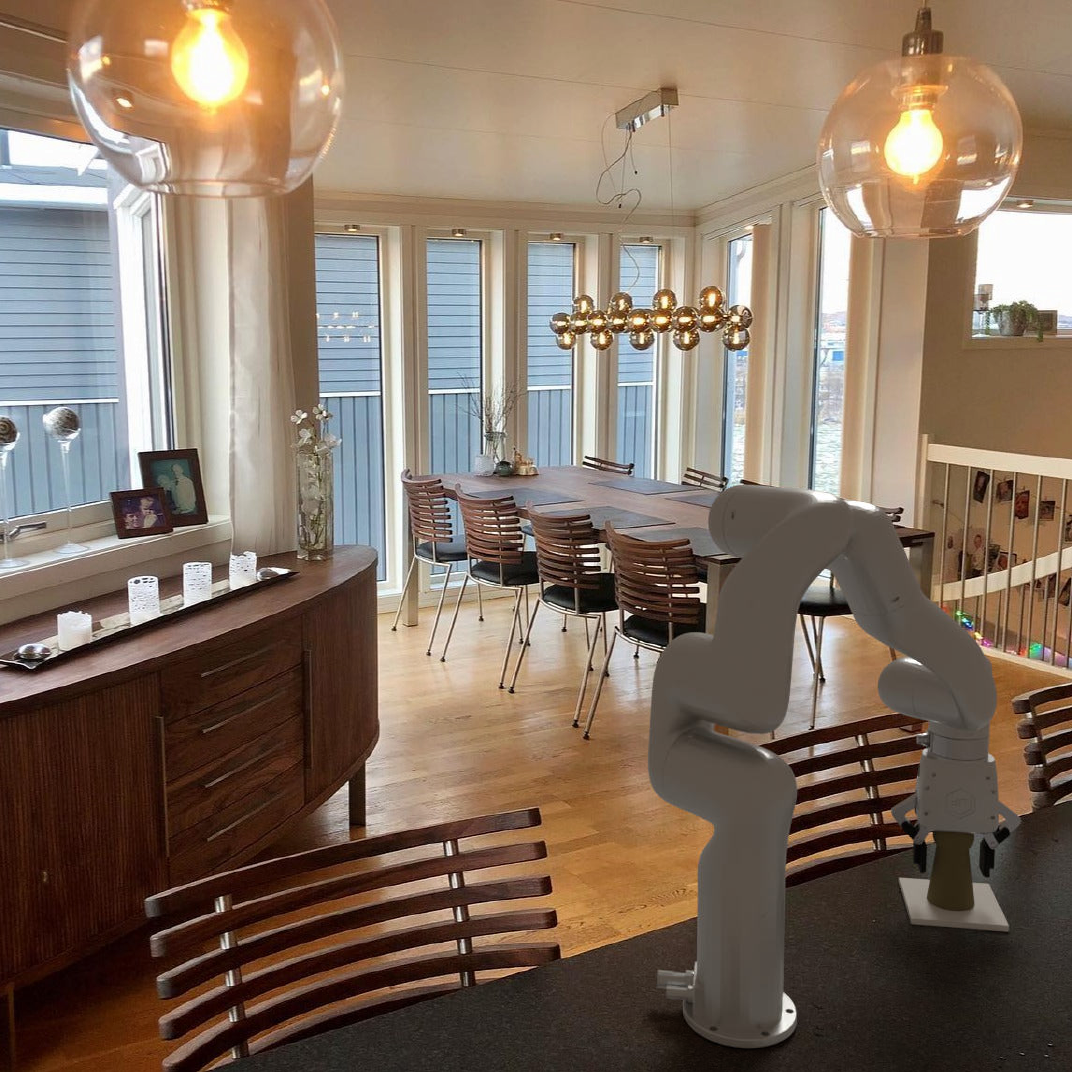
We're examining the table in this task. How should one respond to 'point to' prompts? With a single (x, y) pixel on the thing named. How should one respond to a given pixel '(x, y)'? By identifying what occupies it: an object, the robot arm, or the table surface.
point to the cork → (951, 872)
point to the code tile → (978, 917)
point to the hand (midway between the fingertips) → (952, 870)
